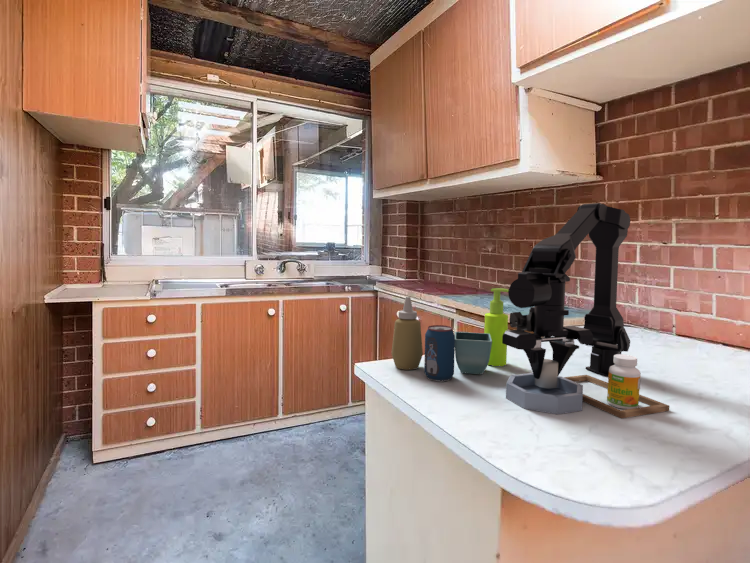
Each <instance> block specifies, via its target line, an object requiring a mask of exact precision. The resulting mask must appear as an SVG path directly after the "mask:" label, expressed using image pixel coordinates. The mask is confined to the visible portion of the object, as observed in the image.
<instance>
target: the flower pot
mask: <svg viewBox="0 0 750 563" xmlns="http://www.w3.org/2000/svg"><path fill="white" fill-rule="evenodd" d="M454 334H455V354H454V358H455V361H456V365H457V367H458V370H459V372H460V373H461V374H472V375H483V373H485V371H486V369H487V368H488V366H489V365H488V362H489V359H490V352H491V345H492V339H491V336H490V334H487V333H484V332H483V333H481V332H468V331H467V332H466V331H454Z"/></svg>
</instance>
